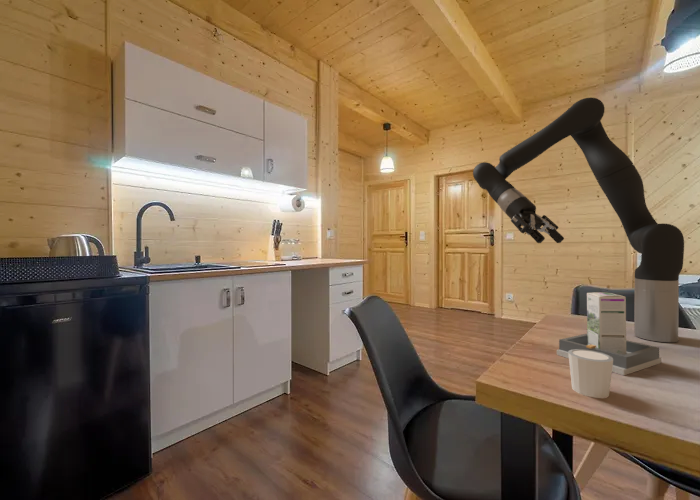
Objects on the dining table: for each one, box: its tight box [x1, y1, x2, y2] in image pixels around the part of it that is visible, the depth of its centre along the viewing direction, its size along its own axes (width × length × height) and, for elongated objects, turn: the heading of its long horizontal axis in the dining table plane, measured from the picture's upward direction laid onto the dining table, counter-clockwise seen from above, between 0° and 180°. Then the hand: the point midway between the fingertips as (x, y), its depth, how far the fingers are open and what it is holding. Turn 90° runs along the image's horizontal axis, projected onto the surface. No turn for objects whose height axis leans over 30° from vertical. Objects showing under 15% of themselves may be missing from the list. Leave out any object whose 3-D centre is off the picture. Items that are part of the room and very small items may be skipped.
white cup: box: [568, 349, 613, 399], centre depth 60 cm, size 7×7×7 cm
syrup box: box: [586, 291, 627, 355], centre depth 76 cm, size 6×6×14 cm
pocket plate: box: [556, 333, 662, 376], centre depth 76 cm, size 16×14×4 cm
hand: (551, 241), depth 90 cm, fingers open, 8 cm apart
